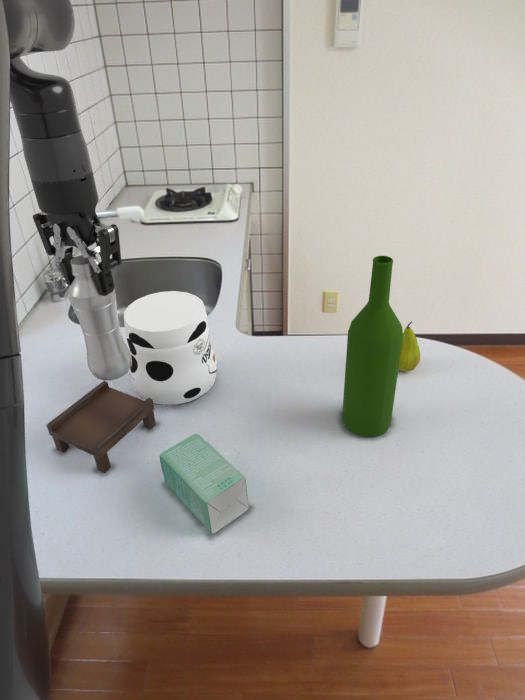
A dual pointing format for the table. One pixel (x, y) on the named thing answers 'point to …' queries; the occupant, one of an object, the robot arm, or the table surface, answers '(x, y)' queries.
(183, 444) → the box
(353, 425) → the wine bottle
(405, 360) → the fruit
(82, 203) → the robot arm
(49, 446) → the table surface
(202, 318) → the milk container
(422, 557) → the table surface
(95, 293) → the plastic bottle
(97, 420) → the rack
